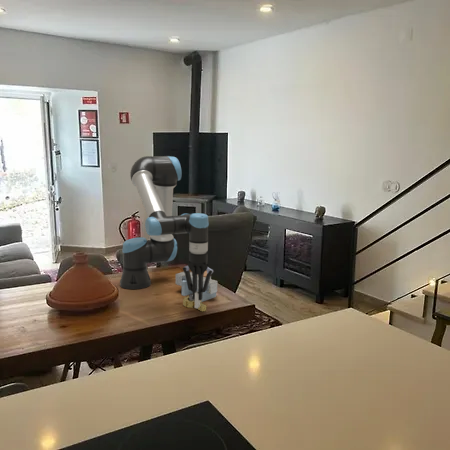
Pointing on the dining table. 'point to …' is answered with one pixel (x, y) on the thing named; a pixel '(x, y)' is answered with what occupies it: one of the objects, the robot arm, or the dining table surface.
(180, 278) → the white t-shaped plate
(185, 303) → the gold box wrench
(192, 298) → the nut base
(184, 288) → the rack
